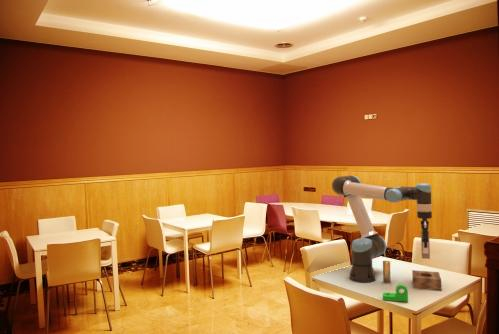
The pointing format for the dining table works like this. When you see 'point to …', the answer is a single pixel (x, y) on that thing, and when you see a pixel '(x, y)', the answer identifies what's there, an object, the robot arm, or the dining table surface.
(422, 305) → the dining table surface
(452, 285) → the dining table surface
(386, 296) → the mechanical part
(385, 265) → the round bit
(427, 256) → the square bit
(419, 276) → the bore block
